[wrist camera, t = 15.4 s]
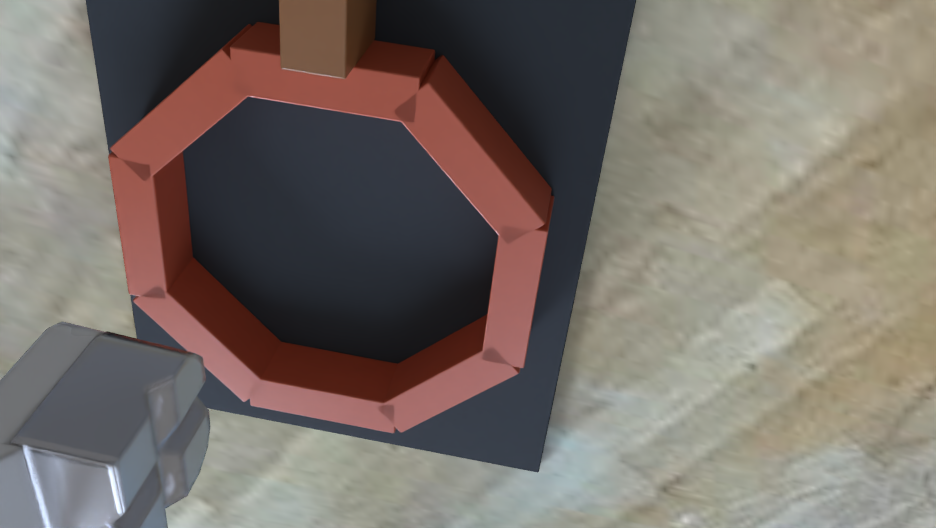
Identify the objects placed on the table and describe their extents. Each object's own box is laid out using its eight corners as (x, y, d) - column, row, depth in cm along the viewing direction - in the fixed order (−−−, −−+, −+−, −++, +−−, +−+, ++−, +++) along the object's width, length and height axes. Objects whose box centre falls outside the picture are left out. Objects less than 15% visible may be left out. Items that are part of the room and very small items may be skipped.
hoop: (102, -179, 26) (36, -160, 24) (608, -108, 25) (603, -79, 22) (167, 348, 38) (128, 403, 35) (515, 414, 37) (504, 477, 34)
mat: (73, -124, 28) (66, -121, 28) (644, -41, 26) (644, -38, 26) (149, 390, 40) (145, 396, 40) (539, 466, 39) (538, 472, 39)
